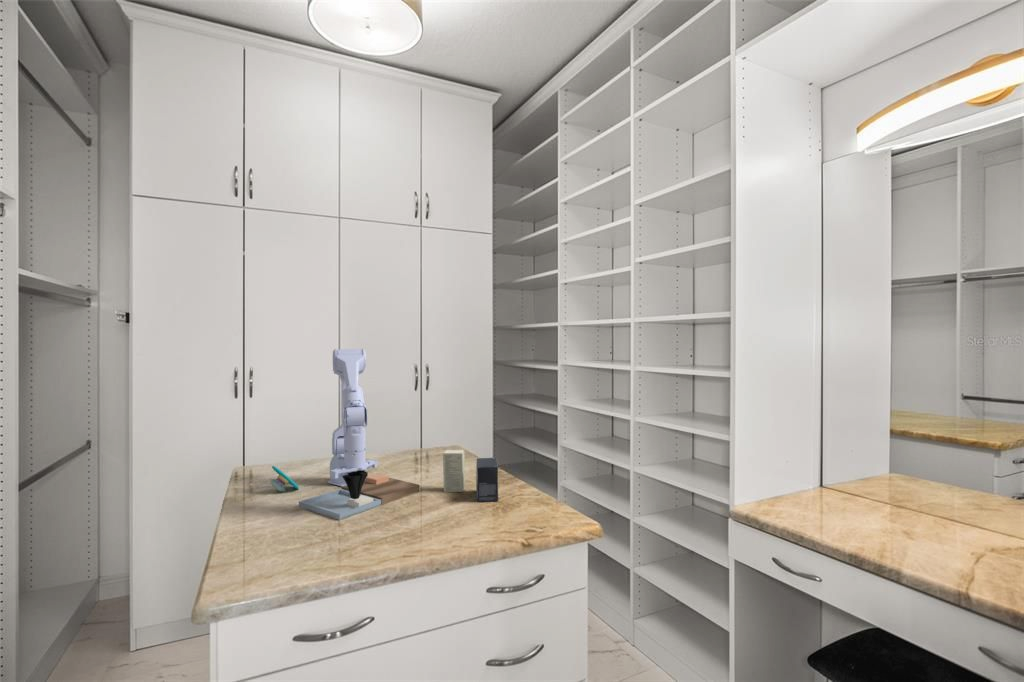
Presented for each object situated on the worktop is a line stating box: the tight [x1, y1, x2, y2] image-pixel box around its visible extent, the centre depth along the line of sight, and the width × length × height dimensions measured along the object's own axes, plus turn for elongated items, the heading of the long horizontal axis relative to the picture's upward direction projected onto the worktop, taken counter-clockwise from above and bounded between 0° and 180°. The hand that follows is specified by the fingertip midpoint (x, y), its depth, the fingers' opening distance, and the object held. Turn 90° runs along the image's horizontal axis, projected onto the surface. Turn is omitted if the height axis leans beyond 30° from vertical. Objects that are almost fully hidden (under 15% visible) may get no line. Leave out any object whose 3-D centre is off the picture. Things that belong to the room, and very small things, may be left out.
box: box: [298, 488, 382, 521], centre depth 142 cm, size 18×14×2 cm
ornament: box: [269, 465, 300, 493], centre depth 155 cm, size 11×4×10 cm
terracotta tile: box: [365, 473, 390, 485], centre depth 159 cm, size 5×5×2 cm
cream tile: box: [347, 495, 373, 508], centre depth 142 cm, size 5×5×2 cm
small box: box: [475, 457, 499, 503], centre depth 151 cm, size 11×6×10 cm, turn 5°
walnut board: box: [340, 477, 421, 506], centre depth 154 cm, size 18×15×2 cm
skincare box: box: [442, 449, 466, 493], centre depth 157 cm, size 6×4×12 cm
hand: (354, 498), depth 141 cm, fingers closed
